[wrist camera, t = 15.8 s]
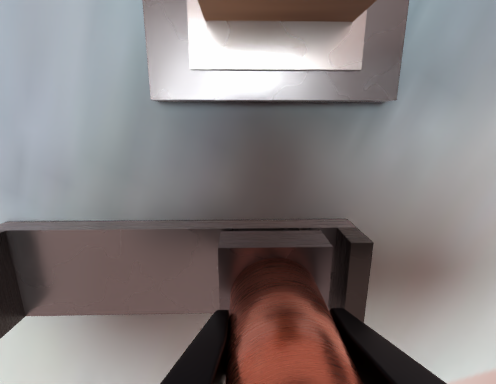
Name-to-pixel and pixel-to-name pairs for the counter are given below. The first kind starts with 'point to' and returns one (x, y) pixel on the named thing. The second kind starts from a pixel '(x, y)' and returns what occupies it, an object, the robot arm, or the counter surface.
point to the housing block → (283, 10)
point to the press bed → (273, 56)
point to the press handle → (280, 309)
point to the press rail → (148, 266)
